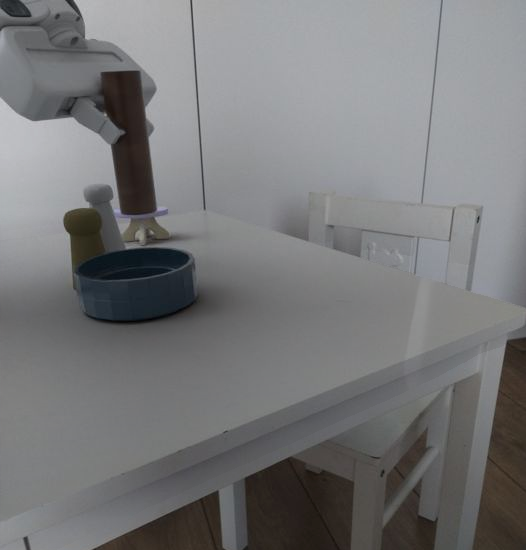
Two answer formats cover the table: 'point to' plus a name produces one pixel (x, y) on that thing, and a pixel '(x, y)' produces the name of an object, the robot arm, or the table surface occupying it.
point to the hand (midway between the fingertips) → (133, 136)
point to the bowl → (136, 283)
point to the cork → (83, 235)
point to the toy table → (144, 225)
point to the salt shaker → (105, 215)
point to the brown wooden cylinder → (130, 142)
